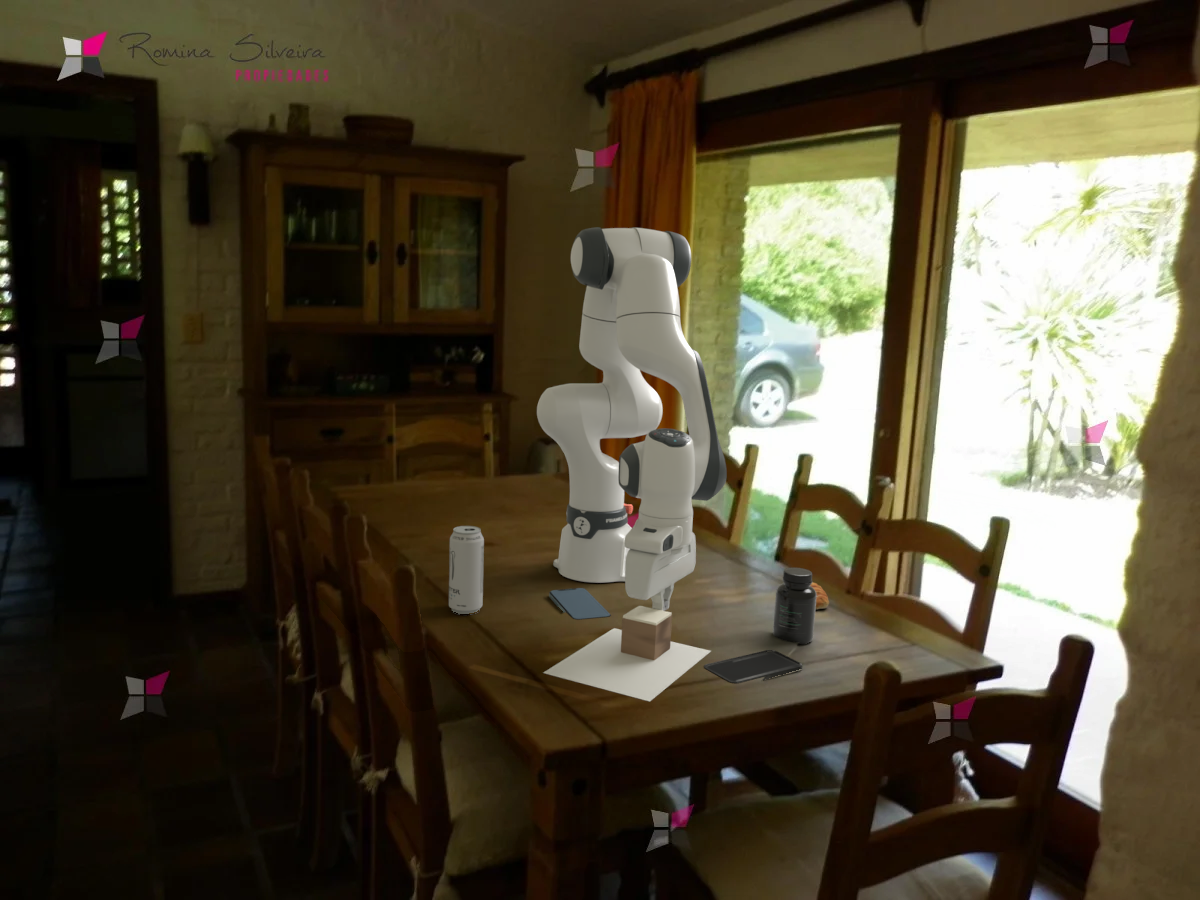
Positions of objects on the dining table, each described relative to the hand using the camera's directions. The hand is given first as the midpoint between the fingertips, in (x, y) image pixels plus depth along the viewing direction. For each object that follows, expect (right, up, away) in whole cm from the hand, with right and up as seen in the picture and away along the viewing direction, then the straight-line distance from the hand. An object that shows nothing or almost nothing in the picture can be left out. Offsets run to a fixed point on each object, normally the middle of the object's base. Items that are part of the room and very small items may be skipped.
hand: (660, 610), depth 163 cm
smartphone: (-14, -3, +18) cm, 23 cm away
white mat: (-5, -7, -8) cm, 12 cm away
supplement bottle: (+23, -6, +7) cm, 25 cm away
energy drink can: (-34, -2, +14) cm, 37 cm away
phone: (+14, -9, -7) cm, 18 cm away
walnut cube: (-3, -6, -3) cm, 7 cm away
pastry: (+30, -3, +27) cm, 40 cm away
